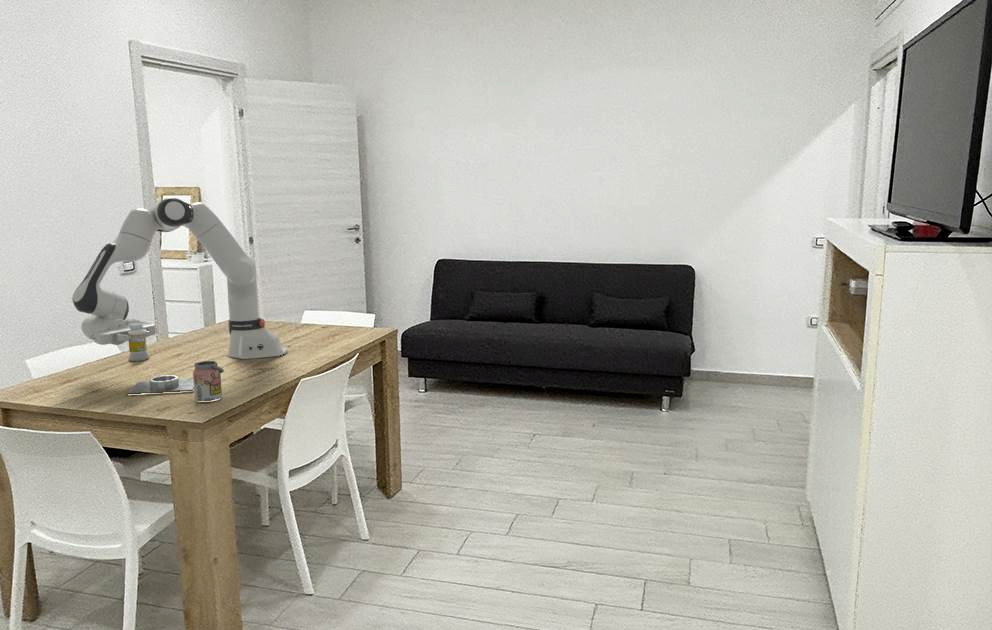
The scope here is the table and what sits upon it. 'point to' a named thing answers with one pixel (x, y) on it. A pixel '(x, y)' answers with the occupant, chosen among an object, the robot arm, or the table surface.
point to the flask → (138, 356)
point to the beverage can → (207, 381)
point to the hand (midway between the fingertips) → (138, 336)
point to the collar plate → (163, 385)
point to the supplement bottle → (137, 339)
